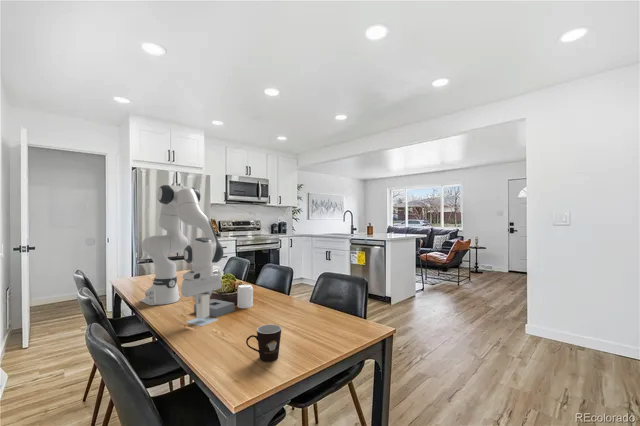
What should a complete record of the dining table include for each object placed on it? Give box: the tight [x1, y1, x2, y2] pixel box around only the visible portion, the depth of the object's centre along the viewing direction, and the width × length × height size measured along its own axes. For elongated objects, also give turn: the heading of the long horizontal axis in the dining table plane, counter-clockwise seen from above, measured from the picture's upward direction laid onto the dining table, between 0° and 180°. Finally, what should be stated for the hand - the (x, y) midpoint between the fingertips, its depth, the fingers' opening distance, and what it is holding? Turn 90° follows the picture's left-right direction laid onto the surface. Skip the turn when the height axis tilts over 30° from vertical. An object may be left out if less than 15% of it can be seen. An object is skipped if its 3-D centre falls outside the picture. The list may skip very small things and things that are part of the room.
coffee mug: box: [245, 324, 282, 363], centre depth 104 cm, size 12×9×10 cm
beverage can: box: [237, 284, 254, 309], centre depth 163 cm, size 8×8×12 cm
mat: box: [185, 316, 219, 327], centre depth 139 cm, size 11×10×1 cm
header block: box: [193, 298, 235, 318], centre depth 153 cm, size 16×12×5 cm
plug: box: [195, 293, 210, 318], centre depth 139 cm, size 4×4×10 cm
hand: (202, 302), depth 139 cm, fingers closed on plug, 4 cm apart
